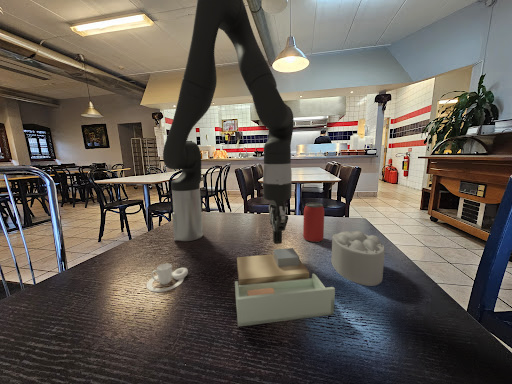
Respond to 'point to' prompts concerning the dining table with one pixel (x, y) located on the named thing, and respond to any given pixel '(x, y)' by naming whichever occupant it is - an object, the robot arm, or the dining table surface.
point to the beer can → (313, 222)
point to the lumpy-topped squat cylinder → (358, 257)
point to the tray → (284, 301)
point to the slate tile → (285, 257)
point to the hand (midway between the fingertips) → (277, 242)
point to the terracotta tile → (260, 291)
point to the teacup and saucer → (166, 277)
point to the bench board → (267, 270)
